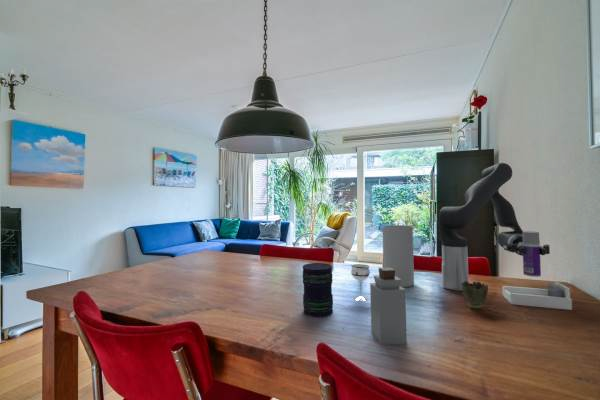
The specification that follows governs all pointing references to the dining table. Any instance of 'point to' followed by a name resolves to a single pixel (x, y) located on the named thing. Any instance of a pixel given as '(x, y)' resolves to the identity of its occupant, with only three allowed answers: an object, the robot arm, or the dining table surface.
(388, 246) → the grey rectangular pillar
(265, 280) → the dining table surface
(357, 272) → the wineglass
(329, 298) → the storage jar
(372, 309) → the perfume bottle
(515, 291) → the white drawer
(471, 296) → the cup
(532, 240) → the container
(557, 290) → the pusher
